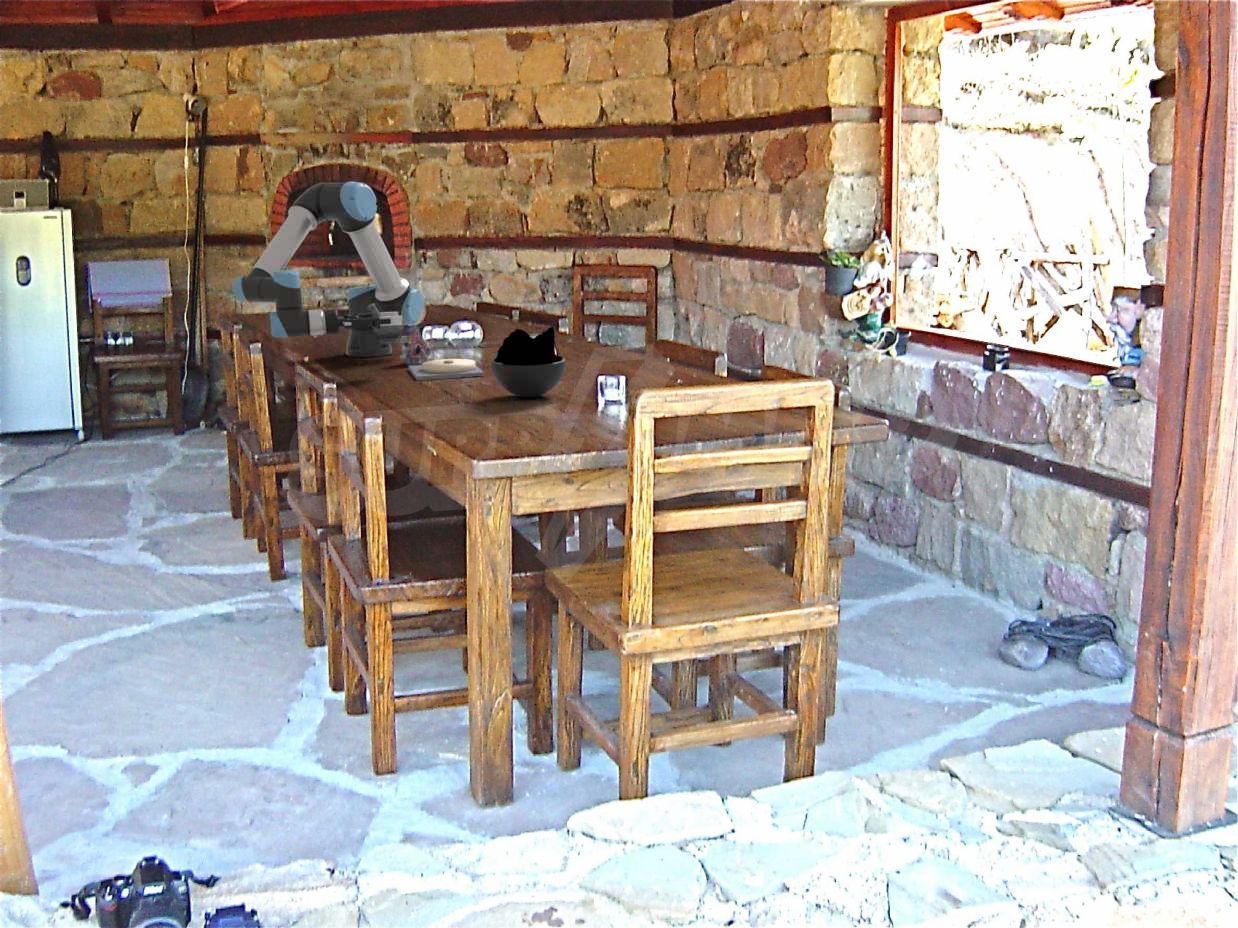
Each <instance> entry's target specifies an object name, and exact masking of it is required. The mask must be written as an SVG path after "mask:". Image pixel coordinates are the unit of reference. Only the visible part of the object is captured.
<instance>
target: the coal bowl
mask: <svg viewBox="0 0 1238 928" xmlns="http://www.w3.org/2000/svg"><path fill="white" fill-rule="evenodd" d="M509 333H510V334H508V336H507V337H505V338H504V339H503V342H502V345H501V346H500V347H499V348H498V349H497V354H496V358H494V359H493V360H491V362H490V363H491V369H492V372H493V375H494V377H495V379H496V381H497V382H498V383H499V385H500V386H501V387H502V388H503V389H505V390H506V391H507V392H508V393H510V394H513V395H515V396H517V397H520V398H521V397H522V398H536V396H537V397H540V396H543V395H544V394H546V393H547V394H548V393H549V392H551V390H553V389H554V388H555V387H556V386H557V385H558V383H559V382H560V380H561V378H562V377H563V375H564V372H565V368H566V358H564V357H563V356H560V355H557V354H556V349H555V348H556V347H555V337H556V336H555V335H556V334H555V328H554V327H553V326H550V327H548V328H547V330H545V331H542V332H541V333H538V334H537V335H535V336H534V338H533V337H532V336H531V335H530V334H529V333H528V332H526V330H524V329H521V328H516V329H515V330H514V331H512V332H509Z"/></svg>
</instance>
